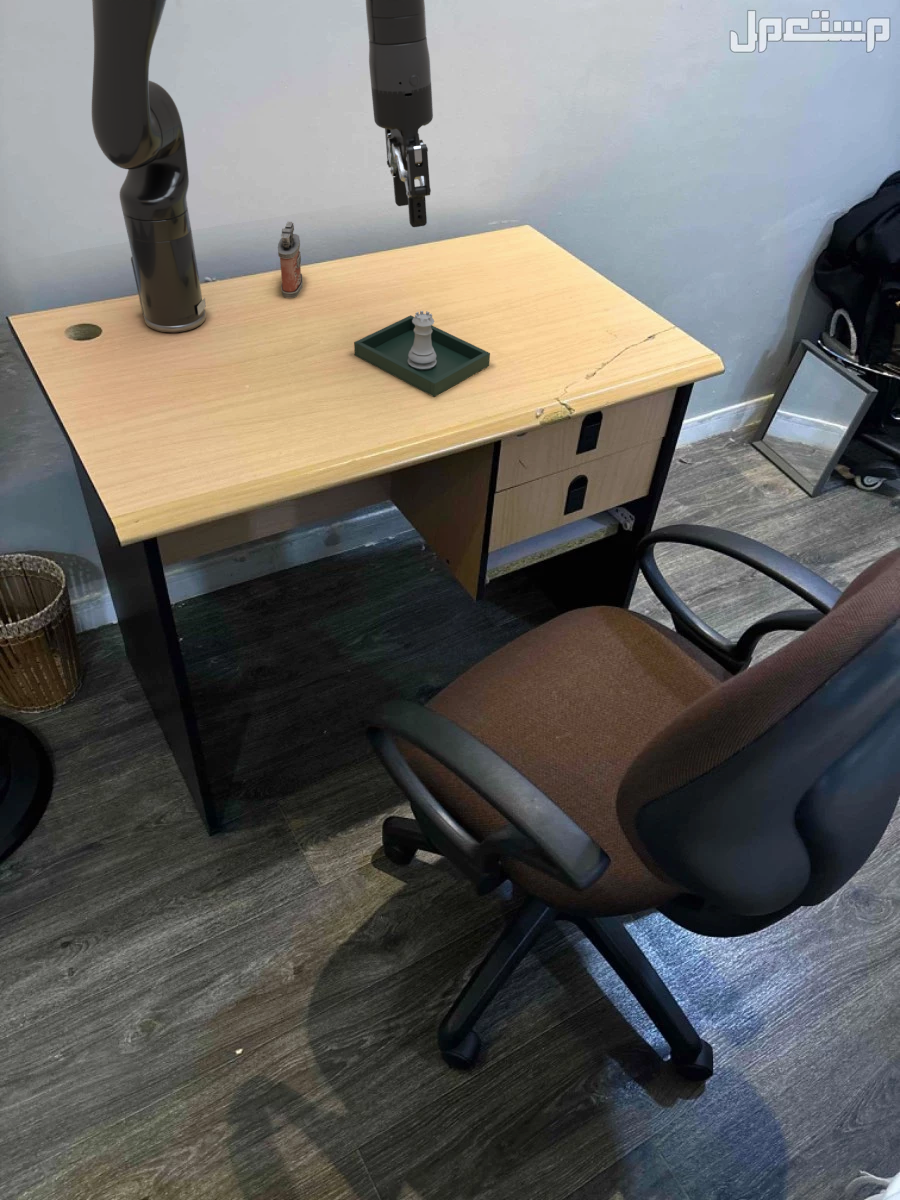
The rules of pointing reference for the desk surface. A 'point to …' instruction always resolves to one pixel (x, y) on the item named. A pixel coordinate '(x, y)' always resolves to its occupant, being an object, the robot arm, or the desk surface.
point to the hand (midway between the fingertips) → (410, 215)
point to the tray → (450, 369)
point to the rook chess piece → (422, 343)
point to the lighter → (290, 262)
